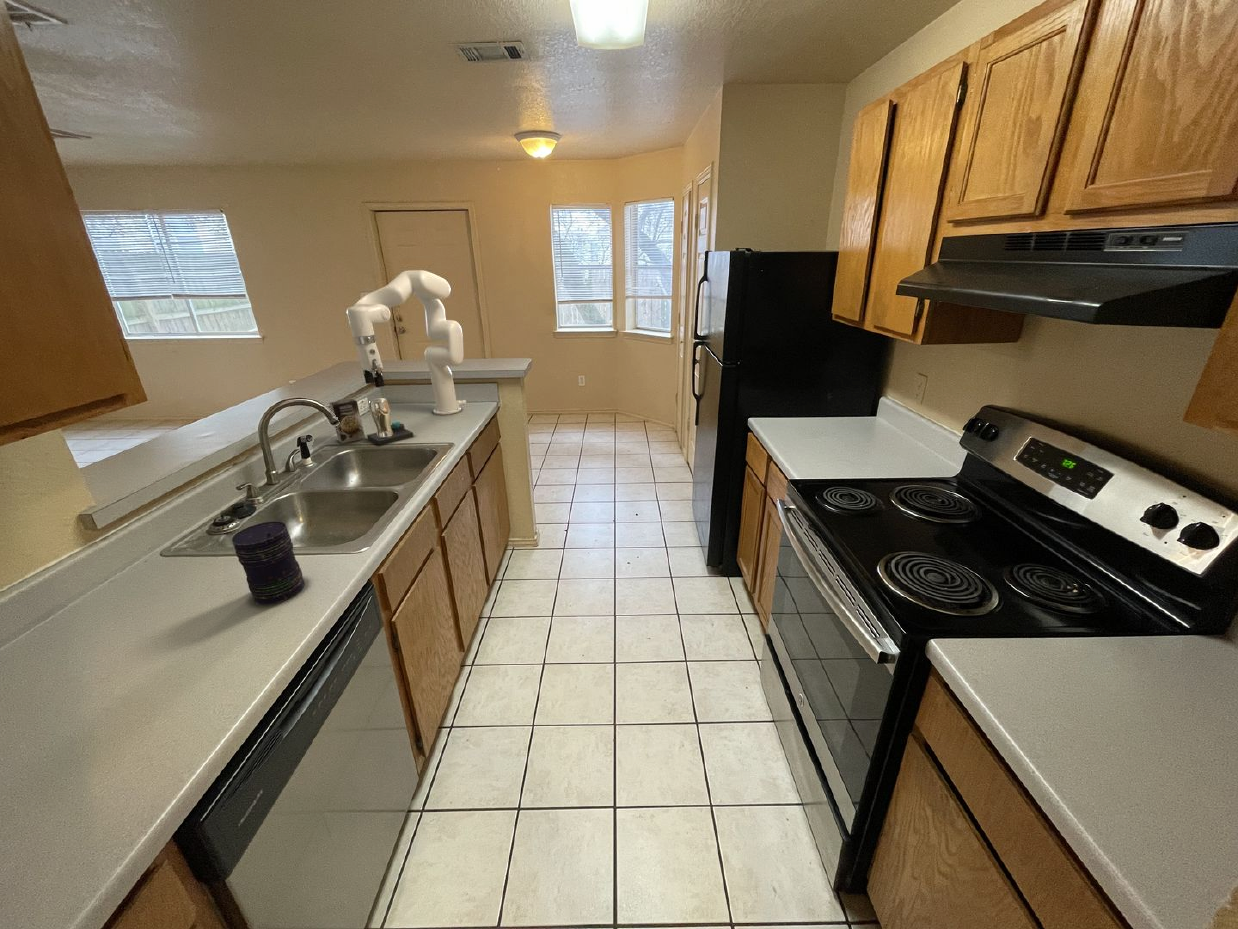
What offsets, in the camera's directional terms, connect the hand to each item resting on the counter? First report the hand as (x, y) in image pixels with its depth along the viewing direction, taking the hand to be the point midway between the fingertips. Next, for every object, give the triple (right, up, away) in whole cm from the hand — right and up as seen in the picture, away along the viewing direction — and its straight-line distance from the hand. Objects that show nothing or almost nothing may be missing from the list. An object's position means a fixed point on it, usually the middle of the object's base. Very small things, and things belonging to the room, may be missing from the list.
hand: (375, 384), depth 198 cm
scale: (+1, -20, +11) cm, 23 cm away
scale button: (+2, -15, +15) cm, 22 cm away
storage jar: (+20, -60, -85) cm, 106 cm away
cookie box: (-15, -21, +11) cm, 28 cm away
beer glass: (+1, -20, +8) cm, 21 cm away
